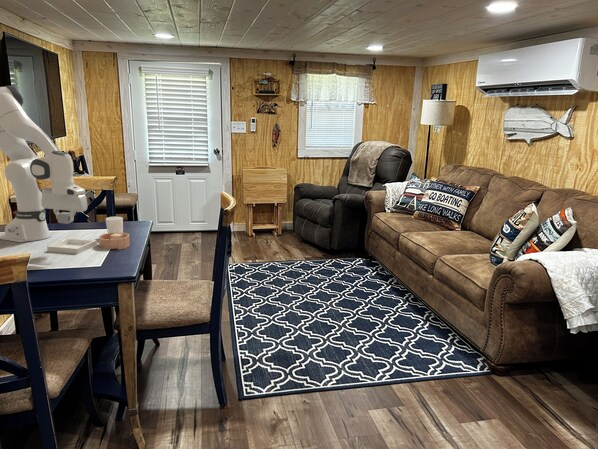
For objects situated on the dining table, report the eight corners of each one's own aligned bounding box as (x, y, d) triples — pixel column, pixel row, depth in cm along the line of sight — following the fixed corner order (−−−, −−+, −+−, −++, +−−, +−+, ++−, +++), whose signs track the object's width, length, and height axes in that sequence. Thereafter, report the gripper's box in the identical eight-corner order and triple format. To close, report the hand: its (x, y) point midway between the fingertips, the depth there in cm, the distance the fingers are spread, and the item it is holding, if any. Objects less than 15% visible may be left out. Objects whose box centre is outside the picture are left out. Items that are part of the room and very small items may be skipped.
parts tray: (47, 252, 200) (47, 246, 200) (68, 244, 214) (68, 238, 213) (78, 255, 198) (77, 248, 197) (97, 246, 211) (96, 240, 210)
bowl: (94, 249, 207) (93, 238, 206) (110, 241, 220) (109, 231, 218) (119, 251, 205) (119, 240, 204) (134, 243, 217) (134, 233, 216)
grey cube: (58, 222, 199) (57, 214, 197) (63, 220, 202) (63, 212, 201) (67, 223, 198) (66, 215, 197) (72, 221, 202) (72, 212, 201)
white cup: (118, 240, 222) (116, 220, 220) (103, 239, 224) (102, 219, 221) (127, 236, 230) (125, 217, 227) (113, 235, 231) (111, 216, 229)
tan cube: (110, 243, 213) (110, 235, 212) (115, 241, 217) (115, 233, 216) (119, 244, 212) (118, 236, 211) (124, 242, 216) (123, 233, 215)
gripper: (36, 188, 195) (39, 218, 198) (79, 192, 192) (81, 223, 195) (46, 185, 201) (49, 215, 204) (88, 189, 198) (90, 220, 201)
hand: (65, 219), depth 200 cm, fingers closed on grey cube, 4 cm apart
